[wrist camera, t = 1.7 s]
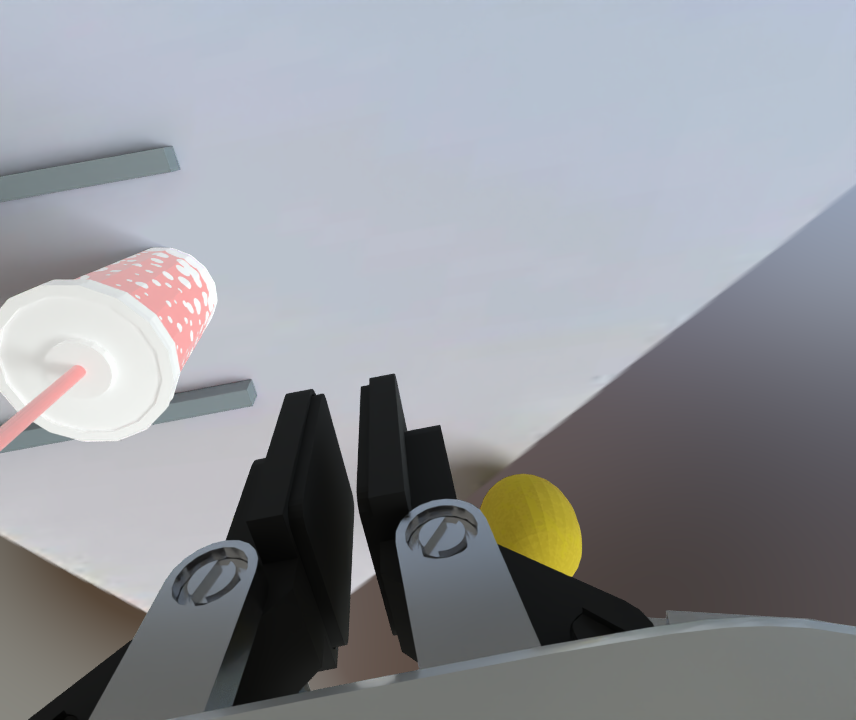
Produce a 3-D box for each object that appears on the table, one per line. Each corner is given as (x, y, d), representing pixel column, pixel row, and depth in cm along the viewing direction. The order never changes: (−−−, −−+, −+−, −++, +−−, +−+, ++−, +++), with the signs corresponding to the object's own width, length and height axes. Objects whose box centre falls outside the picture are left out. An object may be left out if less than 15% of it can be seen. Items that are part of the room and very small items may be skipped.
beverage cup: (208, 219, 26) (47, 320, 13) (249, 336, 28) (147, 515, 15) (82, 244, 25) (-206, 369, 13) (134, 358, 28) (-63, 557, 15)
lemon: (570, 486, 34) (623, 585, 27) (501, 533, 35) (535, 640, 28) (521, 432, 32) (565, 523, 25) (450, 484, 33) (472, 585, 26)
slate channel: (172, 146, 24) (162, 147, 23) (256, 395, 30) (252, 406, 28) (-241, 219, 24) (-270, 224, 23) (-78, 457, 29) (-95, 471, 28)
